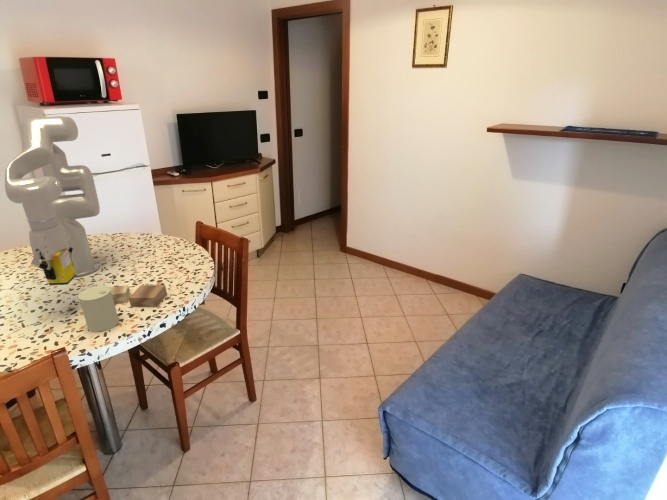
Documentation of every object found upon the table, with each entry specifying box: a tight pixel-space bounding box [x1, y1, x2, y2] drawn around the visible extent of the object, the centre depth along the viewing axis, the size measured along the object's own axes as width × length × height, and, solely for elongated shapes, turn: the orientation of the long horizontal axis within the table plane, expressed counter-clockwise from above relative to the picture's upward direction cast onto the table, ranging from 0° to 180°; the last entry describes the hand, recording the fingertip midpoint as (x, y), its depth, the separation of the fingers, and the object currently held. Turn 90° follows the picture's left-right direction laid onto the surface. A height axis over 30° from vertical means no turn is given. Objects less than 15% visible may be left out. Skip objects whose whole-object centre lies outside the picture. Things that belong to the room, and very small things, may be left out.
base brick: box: [128, 284, 168, 308], centre depth 145 cm, size 9×9×4 cm
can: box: [77, 285, 120, 333], centre depth 130 cm, size 9×9×12 cm
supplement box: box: [40, 248, 76, 286], centre depth 133 cm, size 6×6×11 cm
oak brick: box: [109, 284, 131, 305], centre depth 146 cm, size 6×6×4 cm
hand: (60, 273), depth 134 cm, fingers closed on supplement box, 6 cm apart
